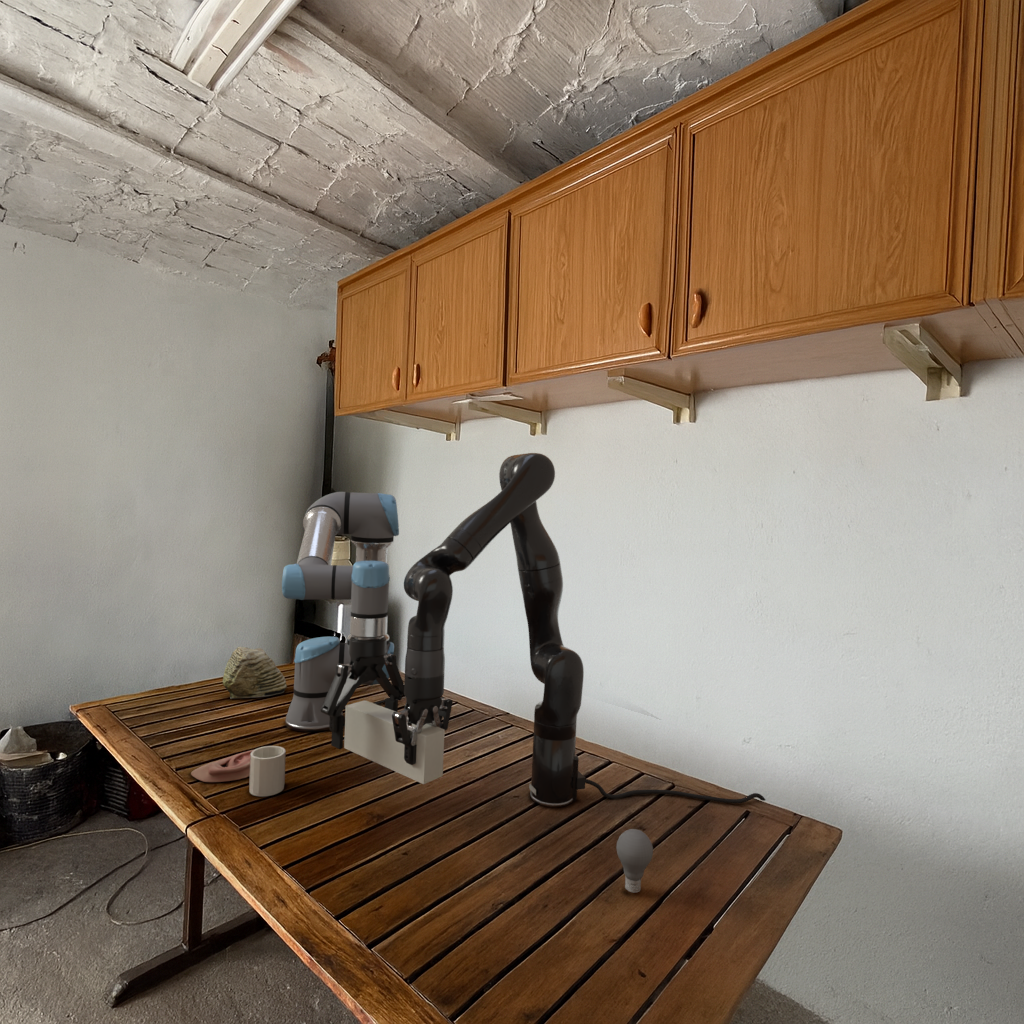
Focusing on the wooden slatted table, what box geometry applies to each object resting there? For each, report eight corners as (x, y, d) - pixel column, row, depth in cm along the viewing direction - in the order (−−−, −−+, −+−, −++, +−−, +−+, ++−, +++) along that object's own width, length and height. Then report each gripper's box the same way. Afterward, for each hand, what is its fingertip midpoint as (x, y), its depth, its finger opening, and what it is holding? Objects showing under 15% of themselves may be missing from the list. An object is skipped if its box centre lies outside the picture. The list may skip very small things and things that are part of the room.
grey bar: (344, 748, 132) (345, 705, 132) (363, 741, 136) (364, 700, 136) (423, 784, 117) (425, 736, 117) (442, 776, 121) (444, 729, 121)
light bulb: (610, 879, 108) (613, 822, 108) (644, 879, 109) (647, 822, 109) (619, 902, 102) (622, 840, 102) (655, 901, 103) (658, 840, 103)
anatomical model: (182, 760, 139) (216, 741, 150) (181, 778, 139) (216, 758, 150) (236, 768, 136) (267, 748, 147) (235, 786, 136) (266, 765, 147)
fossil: (218, 695, 195) (220, 647, 195) (278, 685, 208) (279, 640, 207) (228, 703, 189) (230, 653, 188) (289, 692, 201) (290, 645, 201)
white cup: (272, 778, 141) (274, 743, 141) (290, 788, 137) (291, 752, 137) (242, 789, 136) (244, 752, 136) (260, 799, 131) (261, 761, 131)
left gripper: (401, 625, 143) (397, 718, 144) (305, 641, 124) (301, 749, 124) (424, 630, 139) (420, 727, 139) (328, 648, 119) (323, 760, 120)
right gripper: (437, 660, 129) (434, 743, 129) (382, 673, 117) (379, 764, 118) (464, 667, 124) (461, 753, 124) (409, 682, 113) (406, 776, 113)
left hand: (364, 738), depth 132 cm, fingers open, 13 cm apart
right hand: (421, 758), depth 121 cm, fingers closed on grey bar, 5 cm apart
